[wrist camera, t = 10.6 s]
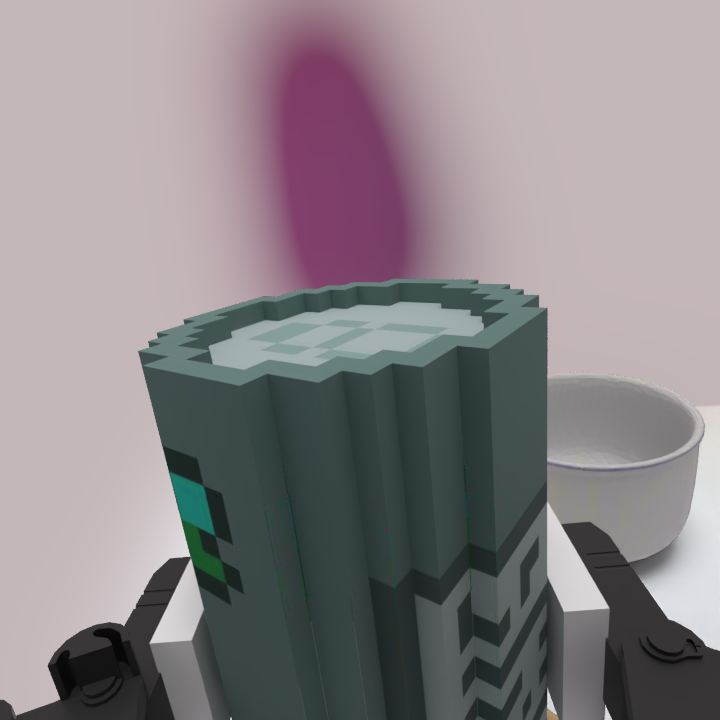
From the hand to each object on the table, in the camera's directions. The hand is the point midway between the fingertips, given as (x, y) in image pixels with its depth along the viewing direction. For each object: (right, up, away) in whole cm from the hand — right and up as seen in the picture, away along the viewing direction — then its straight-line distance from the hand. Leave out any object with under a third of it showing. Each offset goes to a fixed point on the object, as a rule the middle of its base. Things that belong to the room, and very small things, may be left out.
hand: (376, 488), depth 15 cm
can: (+1, -10, -2) cm, 10 cm away
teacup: (+12, -6, +16) cm, 21 cm away
